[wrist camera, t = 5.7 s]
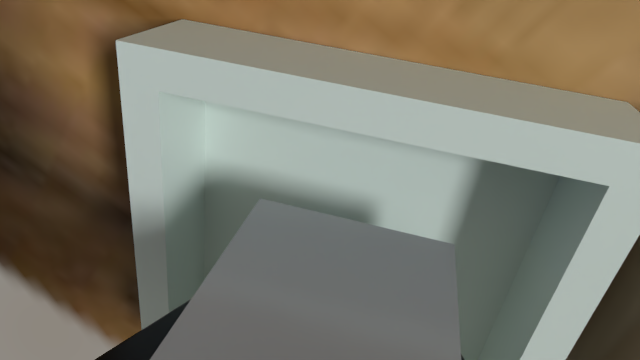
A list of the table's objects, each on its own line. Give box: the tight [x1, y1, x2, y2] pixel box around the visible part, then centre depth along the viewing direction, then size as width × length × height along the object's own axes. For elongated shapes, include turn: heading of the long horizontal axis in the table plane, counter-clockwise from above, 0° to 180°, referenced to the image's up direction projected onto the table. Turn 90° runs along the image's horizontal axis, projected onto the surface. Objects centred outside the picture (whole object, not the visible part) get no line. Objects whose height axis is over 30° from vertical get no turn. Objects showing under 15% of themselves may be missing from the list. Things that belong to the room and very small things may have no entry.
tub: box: [116, 19, 640, 360], centre depth 11 cm, size 10×10×2 cm
